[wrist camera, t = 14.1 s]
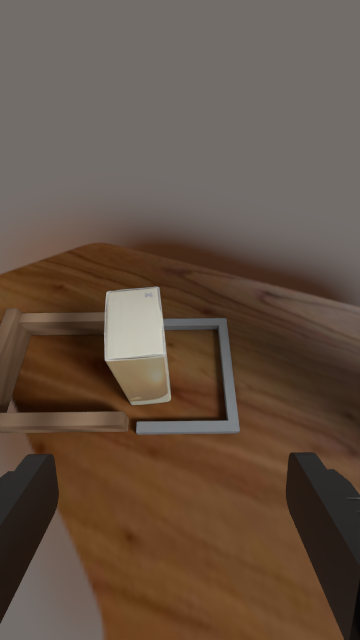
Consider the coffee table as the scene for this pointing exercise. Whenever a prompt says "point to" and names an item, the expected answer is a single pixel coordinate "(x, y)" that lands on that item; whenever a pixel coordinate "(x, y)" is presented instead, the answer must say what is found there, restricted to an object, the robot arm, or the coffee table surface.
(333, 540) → the robot arm
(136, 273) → the coffee table surface
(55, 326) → the frame
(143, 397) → the skincare box
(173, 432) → the bracket
